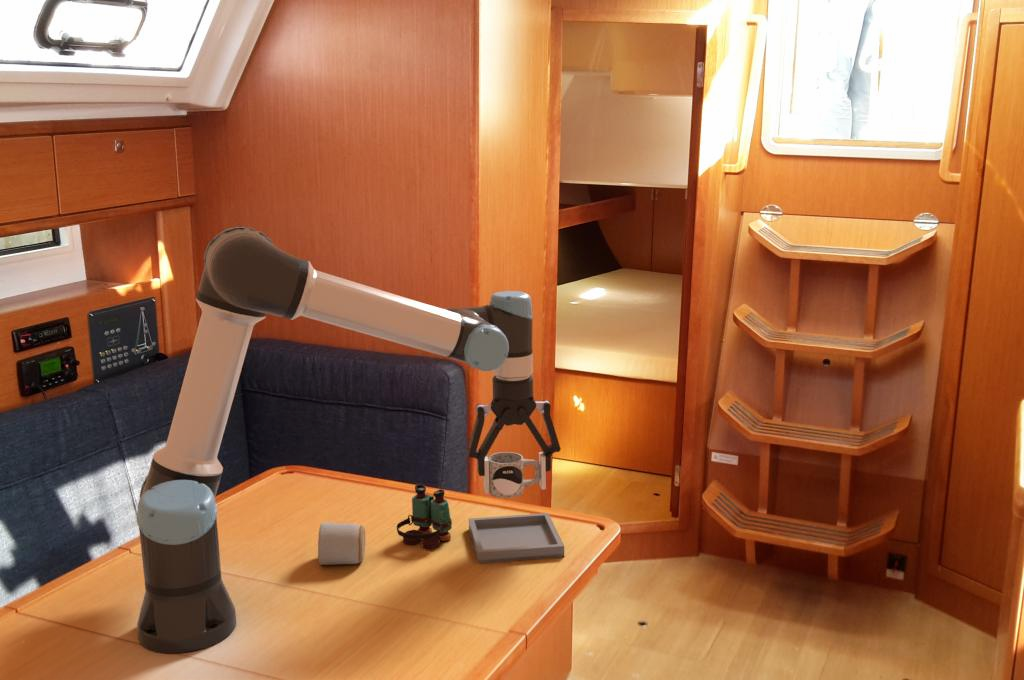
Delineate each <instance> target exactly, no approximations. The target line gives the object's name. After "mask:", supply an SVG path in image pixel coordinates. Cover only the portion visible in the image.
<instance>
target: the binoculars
mask: <svg viewBox="0 0 1024 680" xmlns="http://www.w3.org/2000/svg"><path fill="white" fill-rule="evenodd" d="M414 491H415V492H414V493H416V494H415V495H414V496H412V497H411V503H412V504H411V506H412V508H411V509H412V512H411V513H412V514H408V516H407V518H406V519H404V520H402V521H400V522H398V523H397V525H396V532H397V534H398V536H400V537H402V541H403V543H404V544H405V546H406V545H408V546H415V545H417V544H419V543H420V542H421V546H422V549H423V550H425V551H426V550H427V551H430V550H434V549H435V548H438V546H439V545H440V541H441V542H442V541H449V540H451V539H452V536H451V532H450V531H451V530H452V528H453V527H452V524H453V521H452V518H451V513H450V512H451V511H450V506H449V501H448V500H447V499H446V498H445V497H444V496H445V489H444V488H441V489H438V490H436V491H434V492H433V493H432V494H433V495H431V494H426V491H427V487H426V485H424V484H421V483H417V484H416V485H415V486H414ZM412 524H413V526H416V527H419V528H418V529H411V530H407V531H405V532H404V531H401V530H400V528H402V527H403V526H405V525H408V526H411V525H412ZM431 526H432V527H431ZM432 529H433V530H434V531H432Z"/></svg>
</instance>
